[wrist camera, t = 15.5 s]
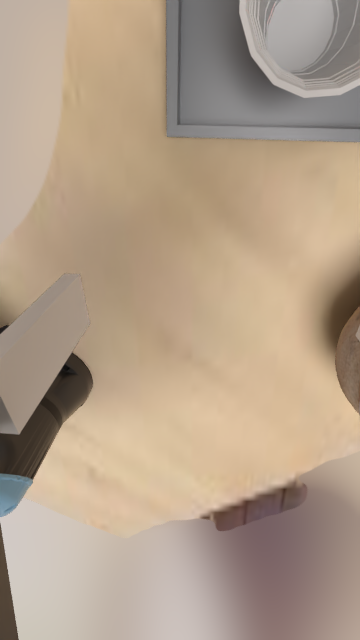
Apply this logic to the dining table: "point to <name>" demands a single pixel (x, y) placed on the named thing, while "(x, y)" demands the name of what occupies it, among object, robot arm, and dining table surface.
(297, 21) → the plastic cup
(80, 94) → the dining table surface
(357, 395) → the ceramic bowl
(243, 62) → the cup tray
